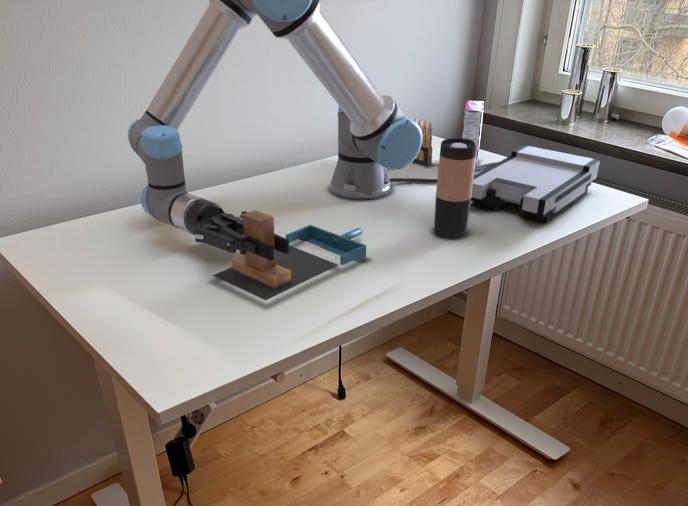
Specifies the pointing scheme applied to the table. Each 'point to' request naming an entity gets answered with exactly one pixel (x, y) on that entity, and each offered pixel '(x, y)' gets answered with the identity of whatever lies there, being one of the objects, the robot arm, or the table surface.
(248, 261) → the wooden block on base
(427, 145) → the ammunition clip
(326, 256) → the chalk
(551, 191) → the game console
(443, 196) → the travel mug
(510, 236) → the table surface
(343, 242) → the dustpan
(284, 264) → the chalkboard
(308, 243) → the chalk
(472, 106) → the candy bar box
